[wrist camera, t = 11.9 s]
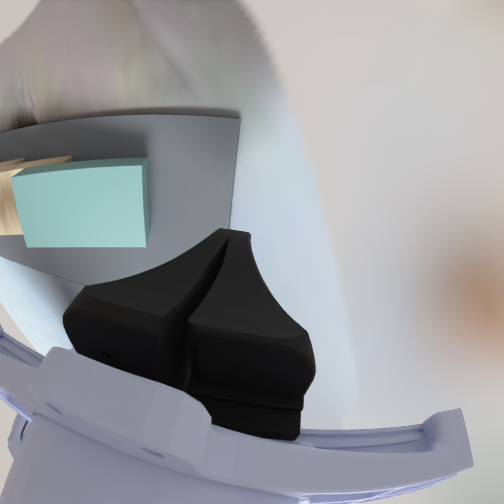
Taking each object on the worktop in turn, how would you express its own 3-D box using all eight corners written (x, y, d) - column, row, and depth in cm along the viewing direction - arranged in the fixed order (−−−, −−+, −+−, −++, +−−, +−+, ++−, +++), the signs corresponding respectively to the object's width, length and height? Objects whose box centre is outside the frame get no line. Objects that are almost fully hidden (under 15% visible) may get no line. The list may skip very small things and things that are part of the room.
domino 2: (146, 247, 16) (27, 247, 14) (150, 232, 17) (37, 234, 15) (141, 165, 13) (11, 177, 11) (147, 157, 14) (24, 168, 12)
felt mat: (222, 314, 21) (221, 318, 20) (-10, 249, 22) (-12, 251, 21) (240, 118, 13) (239, 119, 13) (-33, 142, 14) (-36, 143, 14)
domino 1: (72, 232, 16) (-11, 236, 14) (80, 220, 17) (-1, 225, 15) (61, 162, 13) (-25, 178, 11) (72, 155, 15) (-13, 170, 13)
